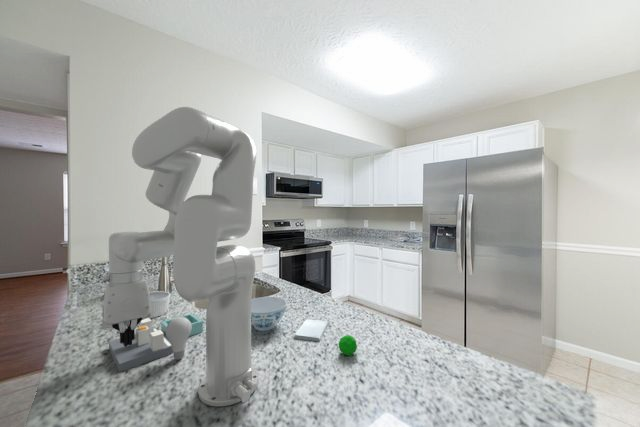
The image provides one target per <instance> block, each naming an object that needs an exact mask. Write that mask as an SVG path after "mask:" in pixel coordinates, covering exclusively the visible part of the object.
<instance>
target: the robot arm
mask: <svg viewBox="0 0 640 427" xmlns="http://www.w3.org/2000/svg"><path fill="white" fill-rule="evenodd" d="M202 156H206V157H211V158H215V159H218V160H220V162H219V163H218V165H217V166H216V168H215V170H214V173H213V175H212V186H211V187H212V189H211V194H197V195H192V196H190V197H188V198H187V196H188V193H189V191H190V188H191V185H192V184H193V181H194V179H195V177H196V174H197V171H198V169H199V168H200V165H201V162H202ZM131 157H132V159H133V162H134V163H135V164H136V165H137V166H138V167H139V168H142V169H144V170H148V171H149V170H150V171H153V173H152V176H151V178H150V180H149V183H148V185H147V188H146V190H145V197H146V199H147V200H148V202H149V203H151V204H153V205H154V206H156V207H158V208H160V209H162V210H164V211H166V212H168V221H167V223H166V225H165V227H164V229H163V230H152V231H151V230H150V231H141V232H140V231H139V232H138V231H120V232H119V231H118V232H114V233H111V234H110V236H109V237H108V273H107V274H106V275H104V276H101V281H102V282H107V284H106V285H105V289H104V294H103V299H102V300H103V301H102V322H101V328H102V329H104V330H105V329H106V330H107V329H114V330H116V331H119V338H120V343H123V345H124V346H125V347H126V346H127V345H132V340H134V334H135V330H136V328H137V326H138V325H139V323H140V322H141V321H142V320H144V319H146V318H148V317H150V310H151V306H150V294H149V292H150V288H149V283H148V280H147V279H145V278H144V262H147V261H151V260H157V259H163V258H167V257H171V256H173V257H172V260H173V261H172V281H173V285H174V288H175V291H176V292H177V295H179V297H181V298H182V299H183V300H186V301H187V302H192V303H193V302H194V303H195V302H197V303H198V302H202V301H204V300H207V299H208V300H207V305H206V310H205V311H206V312H205V347H206V348H205V352H206V353H205V355H206V356H205V357H206V359H205V364H206V366H205V368H206V369H205V371H206V372H205V377H204V378H203V379H202V381H201V382H200V383H199V385H198V398H199V400H200V401H201V402H202V403H203V404H205V405H207V406H211V407H227V406H232V405H234V404H238V403H240V402H242V403H246V402H248V401H249V400H250V398H251V395H252V394H253V393H254V392H255V391H256V390H257V387H258V385H259V374H258V372H257V370H255V369H254V368H253V367H252V325H251V299H253V285H254V281H255V277H256V276H255V275H256V260H255V257H254V255H253V253H252V252H251V250H249V249H248V248H247V247H245V246H243V245H239V244H227V245H221V246H218V243H219V242H225V241H232V240H236V239H240V238H243V237H245V236H246V235H247V234H248V233H249V231H250V228H251V224H252V215H253V214H252V212H253V199H254V198H253V195H254V176H255V168H256V161H257V160H256V159H257V149H256V145H255V143H254V140H253V138H251V136H250V135H249V134H248V133H246V132H245V131H243V130H242V129H241V128H238V127H236V126H234V125H232V124H230V123H229V122H225V121H224V120H222V119H220V118H217V117H214V116H212V115H210V114H208V113H205V112H203V111H202V110H199V109H196V108H193V107H190V106H189V107H188V106H181V107H177V108H174V109H172V110H171V111H169V112H168V113H166V114H164V115H163V116H161V118H158V119H157V120H156V121H154V122H153V123H150V125H148V126H147V127H146V128H144V129H143V130H142V131H141V132H140V133H139V134H138V135H137V137H136V139H135V140H134V142H133V145H132V148H131ZM102 282H101V283H102ZM125 322H128V325H127V327H126V325H125Z"/></svg>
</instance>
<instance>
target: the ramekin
mask: <svg viewBox="0 0 640 427" xmlns="http://www.w3.org/2000/svg"><path fill="white" fill-rule="evenodd" d="M149 294H150V306H151V310H150V317H148V318H150V320H151V319H155V318H157V317H158V316H159V317H161V316H163V315H165V314H166V313H167V311H168V310H169V303H170V299H171V292H168V291H161V290H160V291H158V290H157V291H156V290H155V291H149ZM165 312H166V313H165ZM159 317H158V318H159ZM146 319H147V318H146Z"/></svg>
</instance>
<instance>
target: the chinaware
mask: <svg viewBox="0 0 640 427" xmlns="http://www.w3.org/2000/svg"><path fill="white" fill-rule="evenodd" d="M287 302H288V301H287V300H285V299H284V298H282V297H281V298H280V297H275V296H262V297H255V298H251V326H253V327H254V329H255V330H256V331H260V332H265V331H270V330H272V329H274V328H275V326H276V324H277V323H279V322H280V320H282V318H283V316H284V315H285V313H286V310H287Z"/></svg>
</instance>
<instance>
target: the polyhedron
mask: <svg viewBox="0 0 640 427" xmlns="http://www.w3.org/2000/svg"><path fill="white" fill-rule="evenodd" d="M357 348H358V346H357V340H356V338H354V337H353V336H351V335H349V334H346V335H344V336H342V337H341V338H340V339H339V341H338V349H339V351H340V352H341V353H342V354H343V355H346V356H351V355H353V354H354V353H356V351H357Z"/></svg>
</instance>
